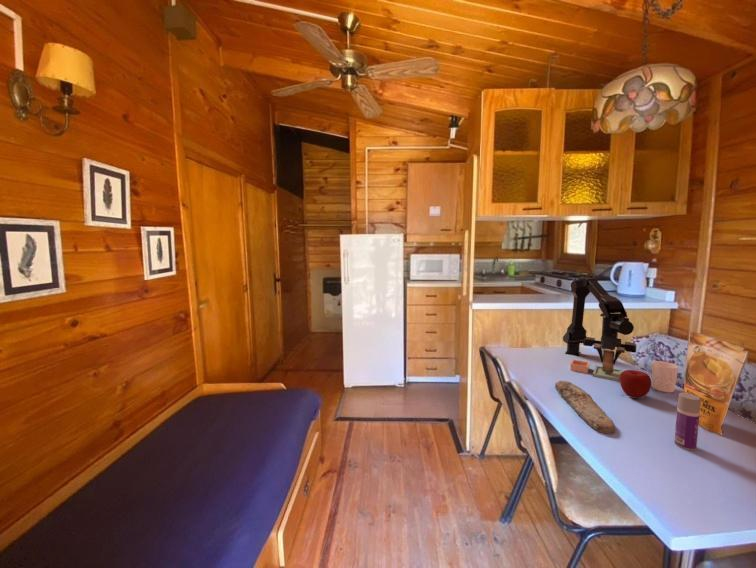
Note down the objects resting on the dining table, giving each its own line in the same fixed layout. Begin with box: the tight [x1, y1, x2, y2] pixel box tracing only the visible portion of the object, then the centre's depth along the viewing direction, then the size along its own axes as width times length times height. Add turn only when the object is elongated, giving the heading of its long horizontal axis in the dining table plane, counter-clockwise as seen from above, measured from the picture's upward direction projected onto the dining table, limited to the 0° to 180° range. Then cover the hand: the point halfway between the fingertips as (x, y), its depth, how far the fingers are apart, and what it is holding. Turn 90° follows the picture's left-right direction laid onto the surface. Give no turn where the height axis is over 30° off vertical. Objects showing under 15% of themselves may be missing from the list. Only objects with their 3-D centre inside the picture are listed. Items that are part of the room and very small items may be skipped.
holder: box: [569, 359, 591, 374], centre depth 154 cm, size 7×7×4 cm
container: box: [673, 392, 700, 451], centre depth 96 cm, size 5×5×15 cm
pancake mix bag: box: [683, 331, 749, 436], centre depth 107 cm, size 7×19×28 cm, turn 172°
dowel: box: [601, 349, 615, 373], centre depth 147 cm, size 4×4×9 cm
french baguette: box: [554, 380, 616, 435], centre depth 120 cm, size 35×5×10 cm
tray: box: [592, 365, 623, 382], centre depth 147 cm, size 12×10×2 cm
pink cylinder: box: [651, 360, 679, 393], centre depth 132 cm, size 8×8×10 cm
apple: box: [619, 369, 652, 399], centre depth 127 cm, size 10×10×10 cm
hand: (608, 363), depth 147 cm, fingers closed on dowel, 4 cm apart
